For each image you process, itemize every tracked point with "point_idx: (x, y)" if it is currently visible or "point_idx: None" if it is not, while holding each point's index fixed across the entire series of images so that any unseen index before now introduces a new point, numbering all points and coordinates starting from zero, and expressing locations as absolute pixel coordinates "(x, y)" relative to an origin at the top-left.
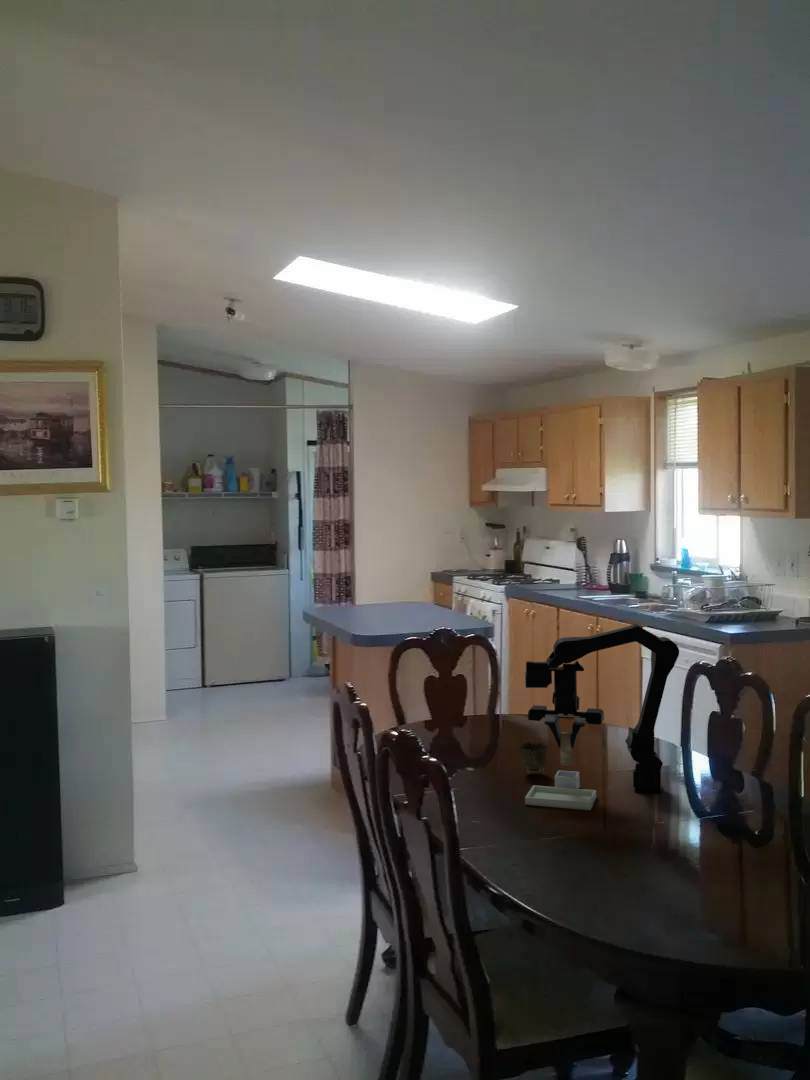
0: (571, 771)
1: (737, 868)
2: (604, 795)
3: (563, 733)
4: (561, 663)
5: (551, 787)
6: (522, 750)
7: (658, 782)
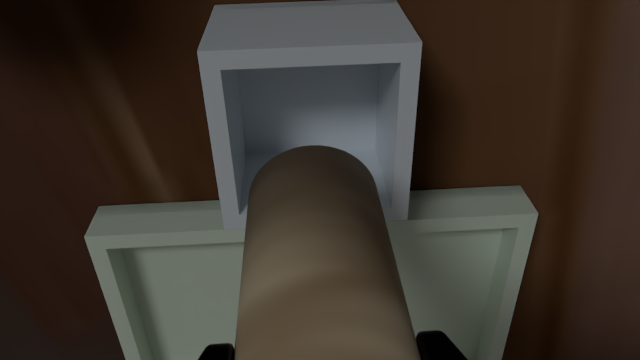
0: (339, 50)
1: None
2: (578, 132)
3: None
4: None
5: (226, 242)
6: None
7: None
